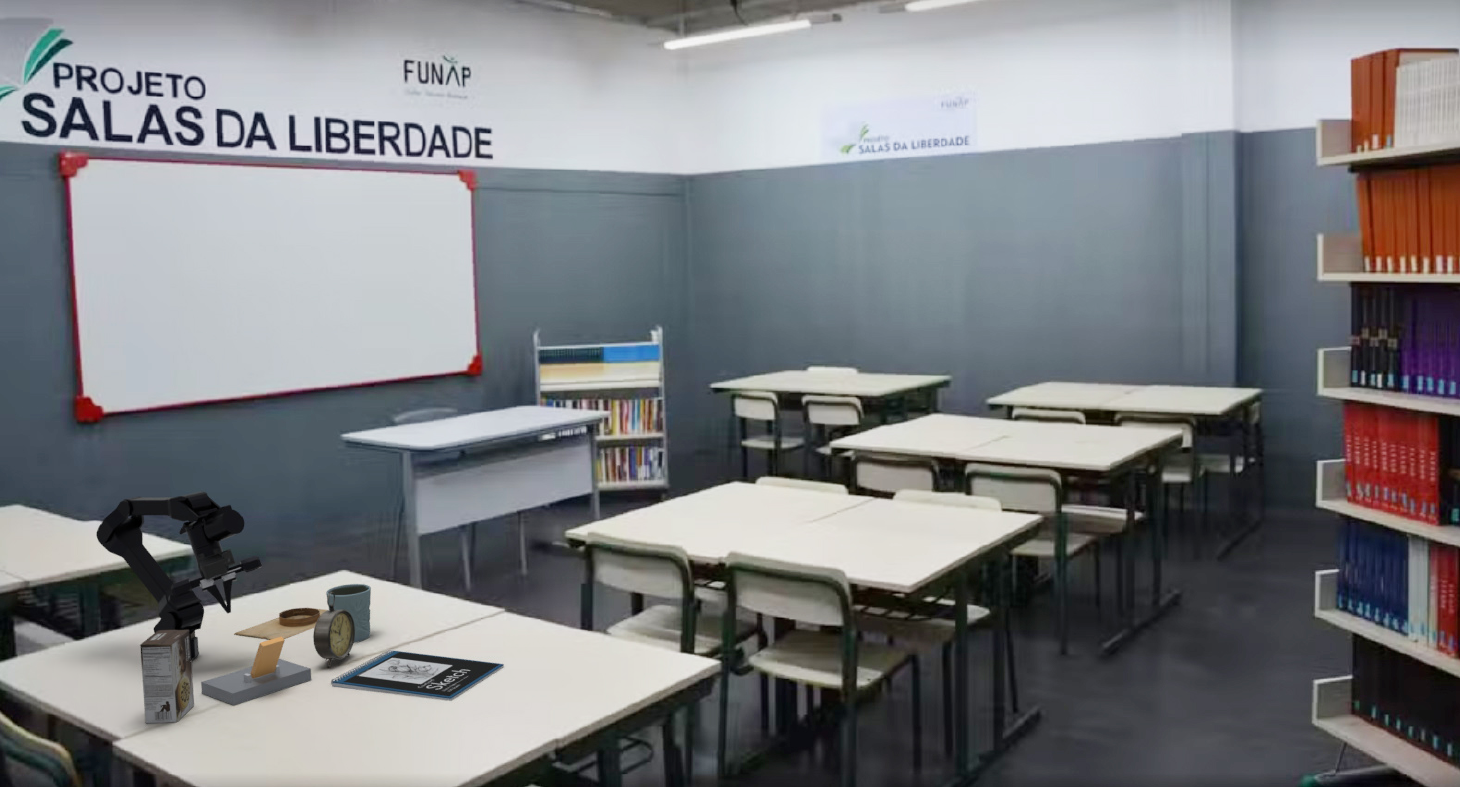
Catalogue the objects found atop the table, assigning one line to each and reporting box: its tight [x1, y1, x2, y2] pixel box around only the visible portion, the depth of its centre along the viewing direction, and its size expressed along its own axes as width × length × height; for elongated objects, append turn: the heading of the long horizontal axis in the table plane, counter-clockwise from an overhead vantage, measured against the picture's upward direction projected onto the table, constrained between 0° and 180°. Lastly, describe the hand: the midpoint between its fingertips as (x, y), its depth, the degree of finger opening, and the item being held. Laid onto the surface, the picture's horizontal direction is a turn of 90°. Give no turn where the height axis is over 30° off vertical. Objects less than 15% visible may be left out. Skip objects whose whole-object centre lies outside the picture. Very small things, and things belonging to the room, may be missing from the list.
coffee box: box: [139, 630, 195, 724], centre depth 228 cm, size 9×6×16 cm
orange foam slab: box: [250, 637, 286, 679], centre depth 241 cm, size 1×5×9 cm
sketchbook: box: [330, 649, 505, 702], centre depth 249 cm, size 22×30×2 cm
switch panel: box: [200, 658, 312, 706], centre depth 244 cm, size 12×18×4 cm, turn 144°
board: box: [233, 607, 328, 641], centre depth 289 cm, size 25×15×3 cm, turn 157°
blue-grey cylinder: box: [325, 583, 372, 643], centre depth 276 cm, size 10×10×12 cm
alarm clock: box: [312, 592, 355, 669], centre depth 258 cm, size 11×5×16 cm, turn 168°
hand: (229, 613), depth 255 cm, fingers closed
